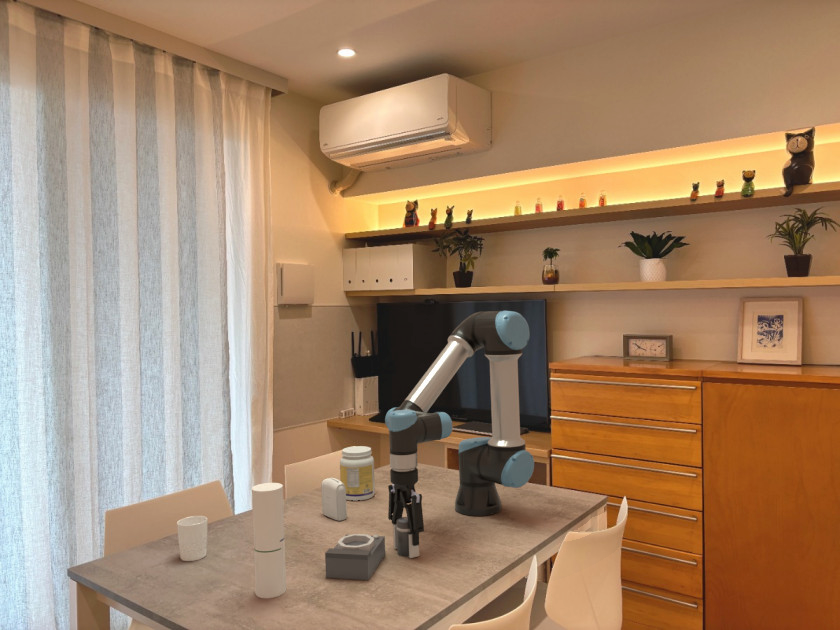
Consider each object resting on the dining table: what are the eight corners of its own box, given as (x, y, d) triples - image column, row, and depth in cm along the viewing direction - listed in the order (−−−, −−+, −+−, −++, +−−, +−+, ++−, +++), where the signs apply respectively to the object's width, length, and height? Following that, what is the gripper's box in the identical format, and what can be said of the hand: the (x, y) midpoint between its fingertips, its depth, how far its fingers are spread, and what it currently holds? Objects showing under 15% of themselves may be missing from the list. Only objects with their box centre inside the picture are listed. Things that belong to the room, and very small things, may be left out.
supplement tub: (345, 491, 229) (344, 445, 229) (378, 491, 227) (376, 445, 227) (336, 501, 217) (335, 453, 217) (371, 501, 215) (369, 453, 215)
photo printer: (320, 514, 204) (319, 477, 203) (331, 511, 206) (330, 474, 206) (337, 522, 196) (335, 483, 195) (348, 519, 198) (347, 480, 198)
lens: (417, 549, 171) (416, 516, 171) (413, 557, 166) (412, 523, 166) (399, 548, 172) (398, 516, 172) (395, 556, 167) (394, 522, 167)
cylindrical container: (291, 586, 151) (288, 483, 150) (275, 600, 144) (272, 492, 144) (266, 583, 153) (262, 481, 153) (249, 596, 146) (245, 490, 146)
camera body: (346, 552, 171) (345, 528, 171) (385, 554, 169) (384, 530, 168) (325, 577, 155) (325, 551, 155) (368, 580, 153) (367, 553, 153)
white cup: (180, 564, 166) (178, 527, 166) (176, 554, 173) (175, 519, 173) (210, 558, 170) (209, 521, 170) (206, 549, 177) (205, 513, 177)
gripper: (436, 473, 163) (438, 560, 163) (396, 458, 180) (399, 538, 180) (412, 478, 159) (414, 567, 159) (373, 463, 175) (376, 544, 176)
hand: (406, 551), depth 169 cm, fingers open, 7 cm apart
